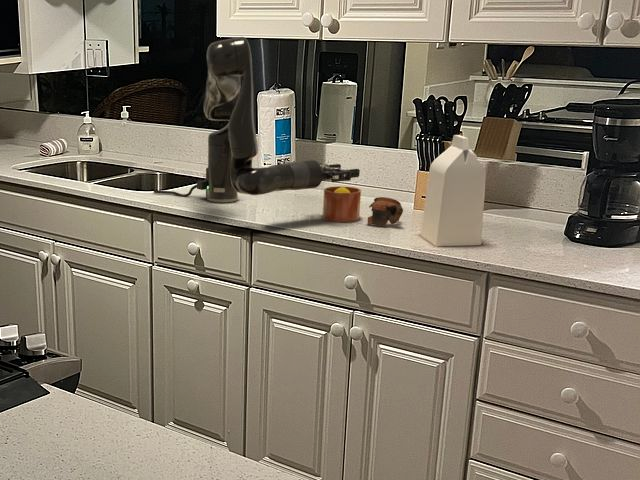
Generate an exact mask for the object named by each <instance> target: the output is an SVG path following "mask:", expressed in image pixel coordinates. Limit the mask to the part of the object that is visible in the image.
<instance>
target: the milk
mask: <svg viewBox="0 0 640 480" xmlns="http://www.w3.org/2000/svg"><path fill="white" fill-rule="evenodd" d="M469 147H470V145H469V138H468V137H466V136H463V135H461V134H453V137H452V141H451V145H450V146H449V147H448V148H447V149H446V150H444V151H442V152H441V154H439V156H437V157H436V158H435V159H434V160H433V161H432V162H431V164H430V166H429V173H428V177H427V178H428V179H427V185H426V192H425V199H424V206H423V213H422V220H421V225H420V234H419V235H420V236H421V237H422V238H423V239H425V240H426V241H428V242H429V243H430V244H432V245H434V246H435V247H459V246H461V247H462V246H463V247H465V246H481V245H482V234H483V223H484V211H485V209H484V208H485V207H484V206H485V195H486V180H487V171H486V167H485V166H484V165H483V164H482V163H481V162H480V160H478V159H477V158H478V156H477V154H476V153H475V152H474V151H473V150H472V149H470V148H469Z"/></svg>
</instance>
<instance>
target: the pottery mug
mask: <svg viewBox="0 0 640 480" xmlns="http://www.w3.org/2000/svg"><path fill="white" fill-rule="evenodd" d="M368 208H370V211H371V212H372V213H371V215H370V216H368V217H367V223H366V224H367V226H369V225H376V226H379V227H384V228H386V227H387V225H388V222H389V223H390V224H391V225H395V224H396V223H397V222H399V221H400V219H401V217H402V215H403V213H404V208H403V206H402V204H401V202H400V201H399V200H397V199H395V198H391V197H387V196H386V197H385V196H379V197H375V198H374V199H373V202H372V203H371V204H370V205H369V206H368Z"/></svg>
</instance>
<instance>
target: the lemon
mask: <svg viewBox="0 0 640 480" xmlns="http://www.w3.org/2000/svg"><path fill="white" fill-rule="evenodd" d="M340 186H341V185H340ZM344 187H345V186H344V185H342V186H341V187H340V188H338V189H336V190H335V191H334V192H335V193H350V191H349V190H348V189H346V188H344Z"/></svg>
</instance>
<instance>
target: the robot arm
mask: <svg viewBox="0 0 640 480" xmlns="http://www.w3.org/2000/svg"><path fill="white" fill-rule="evenodd" d="M206 65H207V76H206V81H205V82H206V83H205V94H204V99H203V113H204V115H205V117H206V118H207V119H208V120H210V121H228V123H227V124H226V125H225V126H224V127H222V128H220V129H218V130H216V131H213V132H210V133H209V134H208V137H207V138H208V139H207V167H206V169H205V179H201V180H197V181H196V184H195V185H193V186H192V187H191V188H190V189H189V191H188V192H187V193H185V194H184V193H183V194H182V193H179V192H176V191H172V190H171V191H170V190H159V189H158V190H156V189H154V190H153V194H166V195H174V196H177V197H181V198H187V197H189V196H191V195H192V193H193V191H194V190H195V189H197V190H200V191H205V199H206V200H207V201H209V202H212V203H219V204H220V203H222V204H223V203H225V204H226V203H233V202H237V201H238V200H239V195H238V194H242V195H249V196H259V195H260V196H261V195H266V194H270V193H273V192H283V191H284V192H285V191H301V190H309V189H316V188H318V187H319V186H320V185H321V184H322V183H323V182H330V181H331V183H339V182H349V181H352V179H354V178H359V177H360V173H361V172H360V171H361V170H360V169H359V168H350V169H349V168H348V169H347V168H346V169H342V165H341V164H340V163H336V164H328V163H322V162H320V163H319V161H317V160H315V159H311V160H302V161H291V162H289V163H281V164H273V165H270V166H268V167H253V158H255V157H256V156H257V155H258V154H259V147H258V138H257V132H256V125H255V124H256V123H255V107H254V106H255V105H254V103H255V102H254V101H255V100H254V99H255V98H254V75H253V74H254V72H253V71H254V70H253V58H252V51H251V46H250V44H249V41H248V39H247V38H246V37H244V36H238V37H233V38H227V39H223V40H222V39H221V40H217V41H213V42H211V43H210V44H209V45H208V47H207V50H206Z"/></svg>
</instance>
